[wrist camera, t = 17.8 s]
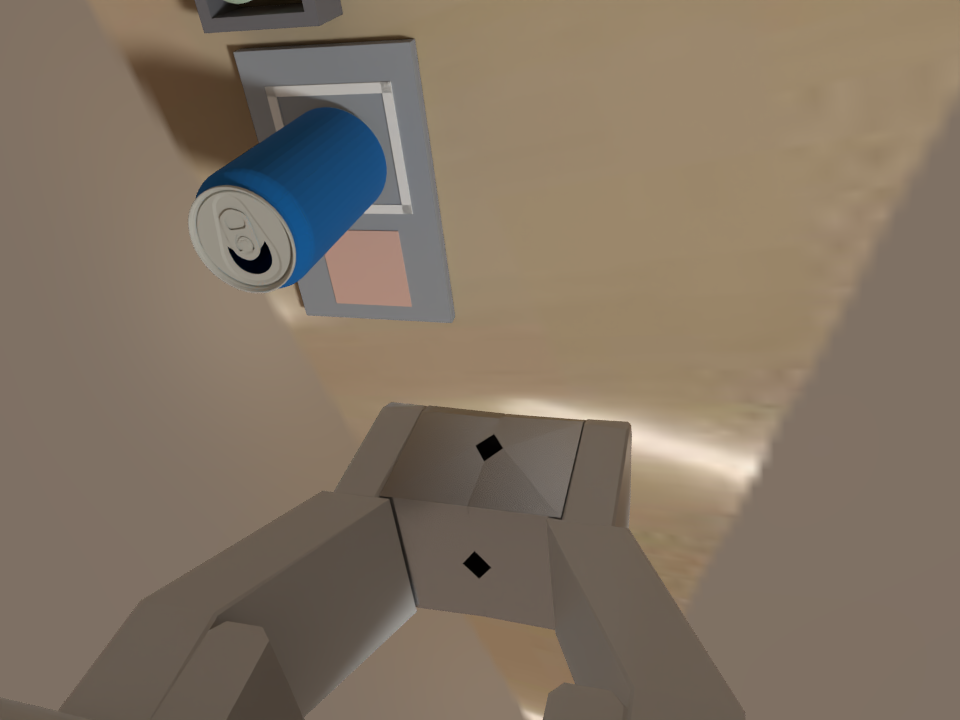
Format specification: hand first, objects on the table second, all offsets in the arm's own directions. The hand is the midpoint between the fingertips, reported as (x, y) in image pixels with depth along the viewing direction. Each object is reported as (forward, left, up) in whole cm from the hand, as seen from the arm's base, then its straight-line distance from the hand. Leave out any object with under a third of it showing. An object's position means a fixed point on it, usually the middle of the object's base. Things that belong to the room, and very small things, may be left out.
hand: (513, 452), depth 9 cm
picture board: (+11, -19, -34) cm, 41 cm away
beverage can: (+8, -19, -34) cm, 39 cm away
